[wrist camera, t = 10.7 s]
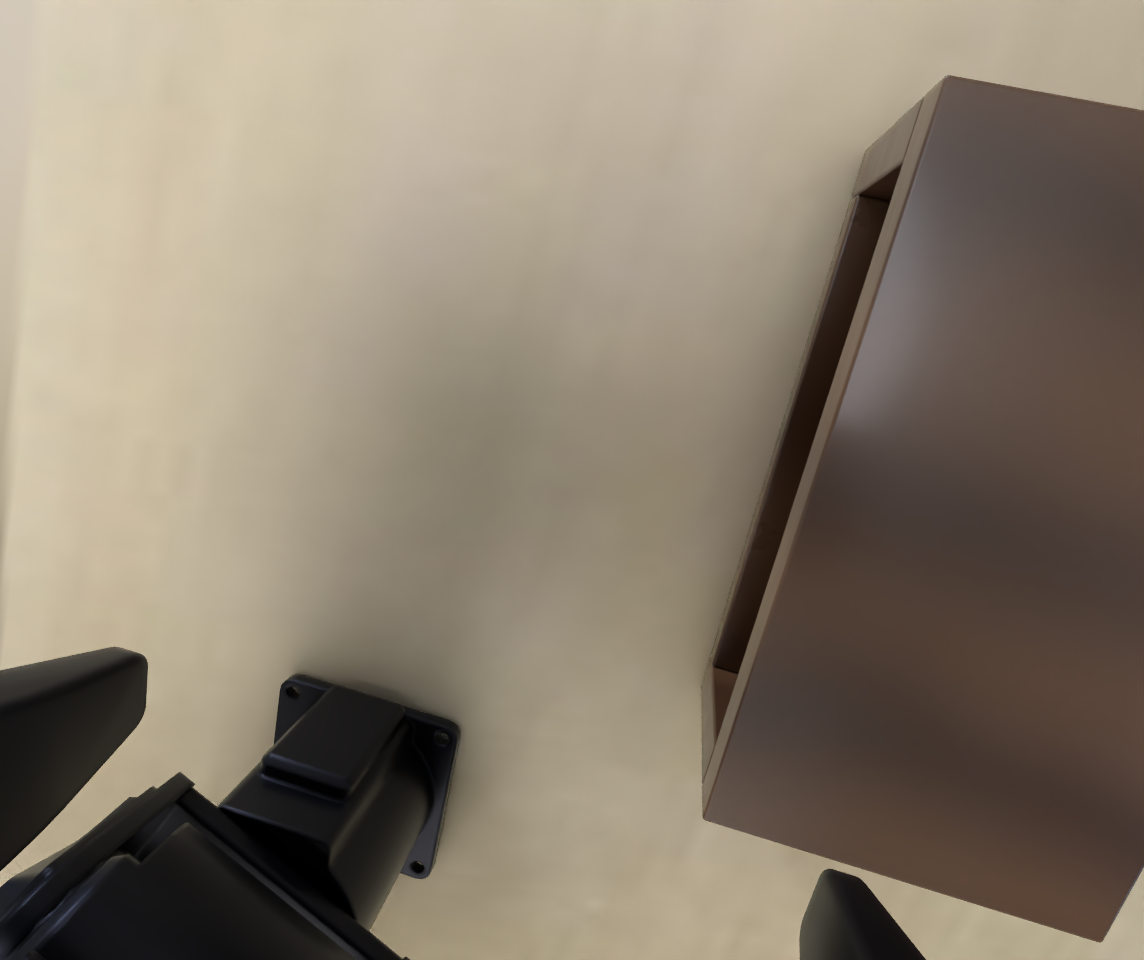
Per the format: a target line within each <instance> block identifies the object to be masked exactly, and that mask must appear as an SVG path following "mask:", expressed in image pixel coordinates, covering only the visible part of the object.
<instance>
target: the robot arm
mask: <svg viewBox="0 0 1144 960" xmlns="http://www.w3.org/2000/svg"><path fill="white" fill-rule="evenodd" d="M147 674H148V662H147V660H146V658H145V657H144V656H143V655H142V654H140V653H136V652H133V651H130V650H127V649H124V648H120V647H110V648H105V649H100V650H96V651H91V652H86V653H81V654H77V655H72V656H67V657H62V658H58V659H53V660H48V661H43V662H39V663H34V664H29V665H24V666H20V667H15V668H10V669H5V670H1V671H0V871H1V870H2V869H3V868H4V867H5V866H6V865H7V864H8V863H10V862H11V861H12V860H13V859H14V858H15V857H16V856H17V855H18V854H19V853H20V852H21V851H22V850H23V849H24V848H25V847H26V846H27V845H29V844H30V843H31V842H32V841H33V840H34V839H35V838H36V837H37V836H38V835H39V834H40V833H41V832H42V831H43V830H44V829H45V828H46V827H47V826H48V825H49V824H50V823H51V822H52V821H53V819H54V818H55V817H56V816H57V815H58V814H59V813H60V812H61V811H62V810H63V809H64V808H65V807H66V806H67V804H68V803H69V802H70V801H71V800H72V799H73V798H74V797H75V795H76V794H77V793H78V792H79V791H80V790H81V789H82V788H83V787H84V785H85V784H86V783H87V782H88V781H89V780H90V779H91V778H92V776H93V775H94V774H95V773H96V772H97V771H98V770H99V769H100V767H101V766H102V765H103V764H104V763H105V762H106V761H107V760H108V758H109V757H110V756H111V755H112V754H113V753H114V752H115V751H116V750H117V748H118V747H119V746H120V745H121V744H122V743H123V742H124V741H125V739H126V738H127V737H128V736H129V735H130V734H131V733H132V732H133V730H134V729H135V728H136V727H137V726H138V724H139V722H140V721H141V719H142V717H143V715H144V712H145V708H146V693H147ZM293 687H296V688H297V689H298V690H299V691H300V693H297V692H296V691H295V690H294V688H293ZM440 733H445V734H447V735H448V737H449V739H445V738H443V737H442V736H441V735H440ZM459 741H460V730H459V728H458V726H457V725H456V724H455V723H454V722H452V721H450V720H447V719H444V718H441V717H437V716H434V715H431V714H427V713H424V712H421V711H418V710H414V709H411V708H408V707H405V706H401V705H399V704H397V703H393V702H390V701H387V700H384V699H380V698H377V697H374V696H371V695H367V694H364V693H361V692H358V691H354V690H351V689H348V688H345V687H341V686H338V685H333V684H330V683H326V682H323V681H320V680H317V679H313V678H310V677H307V676H304V675H299V674H295V675H292V676H291V677H289V678H288V679H287V680H286V681H285V682H284V683H283V684H282V685H281V688H280V695H279V704H278V712H277V721H276V730H275V738H274V745H273V746H272V747H271V748H270V749H269V750H268V752H267V753H266V754H265V755H264V756H263V758H262V761H261V762H260V763H259V764H258V765H257V766H256V767H255V768H254V769H253V770H252V771H251V772H250V773H249V774H248V775H247V776H246V777H245V778H244V779H243V780H242V781H241V782H240V783H239V784H238V785H237V787H236V788H235V789H234V790H233V791H232V792H231V793H230V794H229V795H228V796H227V797H226V798H225V799H224V800H223V801H222V802H221V803H220V804H219V805H218V806H217V807H216V806H215V805H214V804H212V803H211V802H210V801H209V800H208V799H206V798H205V797H204V796H203V795H201V794H200V793H199V792H198V791H197V790H195V789H194V788H193V786H194V785H195V784H194V783H193V782H192V781H191V780H190V779H188V778H187V777H186V776H185V775H183V774H182V773H181V772H179V773H178V774H176V775H175V776H174V777H172V778H171V779H170V780H168V781H167V782H166V783H165V784H163V785H162V786H161V787H159V788H158V789H157V788H155V787H154V786H152V787H151V788H149V789H148V790H147V791H145V792H144V793H143V794H141V795H140V796H139V797H129V798H128V799H127V800H126V801H125V802H123V803H122V804H121V805H120V806H119V807H118V808H116V809H115V810H114V811H113V812H112V813H111V814H109V815H108V816H107V817H106V818H105V819H104V820H103V821H101V822H100V823H99V824H98V825H97V826H95V827H94V828H93V829H92V830H91V831H89V832H88V833H87V834H86V835H84V836H83V837H82V838H80V839H79V840H77V841H76V842H74V843H73V844H71V845H69V846H68V847H66V848H64V849H62V850H60V851H59V852H57V853H55V854H53V855H51V856H50V857H48V858H46V859H44V860H42V861H41V862H39V863H37V864H35V865H33V866H32V867H30V868H28V869H26V870H24V871H23V872H21V873H19V874H17V875H15V876H14V877H12V878H11V879H10V880H8V881H7V882H6V883H5V884H4V885H2V886H1V887H0V960H410V959H409V958H407V957H404V958H403V959H402V958H401V957H400V956H399V955H397V954H396V953H395V952H394V951H392V950H391V949H390V948H389V947H388V946H386V945H385V944H384V943H383V942H381V941H380V940H379V939H378V938H376V937H375V936H374V935H373V934H372V933H370V932H369V930H370V928H371V926H372V925H373V923H374V921H375V919H376V917H377V915H378V913H379V911H380V909H381V908H382V906H383V904H384V902H385V900H386V898H387V896H388V894H389V892H390V890H391V889H392V887H393V885H394V883H395V881H396V879H397V877H398V875H399V873H401V874H404V875H407V876H410V877H413V878H417V879H424V878H426V877H428V876H429V874H430V872H431V870H432V868H433V866H434V864H435V860H436V855H437V850H438V845H439V840H440V835H441V830H442V825H443V820H444V815H445V810H446V805H447V800H448V795H449V790H450V785H451V780H452V775H453V770H454V765H455V761H456V756H457V751H458V746H459ZM417 861H418V862H420V863H422V864H423V865H421V864H419V863H418V862H417ZM800 960H926V959H925V958H924V957H923V956H922V954H921V953H920V952H919V950H918V949H917V948H916V947H915V945H914V944H913V943H912V942H911V940H910V939H909V938H908V937H907V935H906V934H905V933H904V932H903V930H902V929H901V928H900V927H899V925H898V924H897V923H896V922H895V920H894V919H893V918H892V917H891V915H890V914H889V913H888V912H887V910H886V909H885V908H884V906H883V905H882V904H881V903H880V901H879V900H878V899H877V898H876V896H875V895H874V894H873V893H872V891H871V890H870V889H869V888H868V886H867V885H866V884H865V883H864V882H863V881H862V880H861V879H860V878H858V877H856V876H852V875H849V874H846V873H843V872H840V871H836V870H833V869H827V870H824V871H823V873H822V874H821V875H820V877H819V879H818V882H817V885H816V887H815V890H814V892H813V895H812V897H811V900H810V902H809V905H808V907H807V910H806V912H805V915H804V918H803V920H802V924H801V930H800Z"/></svg>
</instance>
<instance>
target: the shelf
mask: <svg viewBox="0 0 1144 960" xmlns="http://www.w3.org/2000/svg"><path fill="white" fill-rule="evenodd" d="M852 197H853V199H852V200H851V201H850V203H849V207H848V210H847V213H846V217H845V220H844V223H843V226H842V230H841V233H840V236H839V239H838V243H837V246H836V249H835V252H834V256H833V259H832V262H831V265H830V269H829V272H828V275H827V278H826V282H825V285H824V288H823V291H822V295H821V298H820V301H819V304H818V308H817V311H816V314H815V318H814V321H813V324H812V327H811V331H810V334H809V337H808V340H807V344H806V347H805V350H804V353H803V357H802V360H801V363H800V366H799V370H798V373H797V376H796V379H795V383H794V386H793V389H792V392H791V396H790V399H789V402H788V406H787V409H786V412H785V415H784V419H783V422H782V425H781V428H780V432H779V435H778V438H777V441H776V445H775V448H774V451H773V454H772V458H771V461H770V464H769V467H768V471H767V474H766V477H765V480H764V484H763V487H762V490H761V493H760V497H759V500H758V503H757V507H756V510H755V513H754V516H753V520H752V523H751V526H750V529H749V533H748V536H747V539H746V542H745V546H744V549H743V552H742V555H741V559H740V562H739V565H738V568H737V572H736V575H735V578H734V581H733V585H732V588H731V591H730V594H729V598H728V601H727V604H726V608H725V611H724V614H723V617H722V621H721V624H720V627H719V630H718V634H717V637H716V640H715V643H714V647H713V650H712V653H711V654H712V656H711V657H710V660H709V663H708V666H707V669H706V673H705V676H704V679H703V682H702V686H701V709H702V784H703V786H702V813H703V819H704V820H706V821H709V822H713V823H716V824H719V825H722V826H725V827H729V828H732V829H735V830H738V831H742V832H745V833H748V834H751V835H754V836H758V837H761V838H764V839H767V840H771V841H774V842H777V843H780V844H783V845H787V846H790V847H793V848H796V849H800V850H803V851H806V852H809V853H812V854H816V855H819V856H822V857H825V858H829V859H832V860H835V861H838V862H841V863H845V864H848V865H851V866H854V867H858V868H861V869H864V870H867V871H871V872H874V873H877V874H880V875H883V876H887V877H890V878H893V879H896V880H900V881H903V882H906V883H909V884H912V885H916V886H919V887H922V888H925V889H929V890H932V891H935V892H938V893H941V894H945V895H948V896H951V897H954V898H958V899H961V900H964V901H967V902H970V903H974V904H977V905H980V906H983V907H987V908H990V909H993V910H996V911H999V912H1003V913H1006V914H1009V915H1012V916H1016V917H1019V918H1022V919H1025V920H1029V921H1032V922H1035V923H1038V924H1041V925H1045V926H1048V927H1051V928H1054V929H1058V930H1061V931H1064V932H1067V933H1070V934H1074V935H1077V936H1080V937H1083V938H1087V939H1090V940H1093V941H1096V942H1102V941H1103V940H1104V938H1105V936H1106V934H1107V933H1108V931H1109V929H1110V927H1111V925H1112V924H1113V922H1114V920H1115V918H1116V916H1117V915H1118V913H1119V911H1120V909H1121V907H1122V905H1123V904H1124V902H1125V900H1126V898H1127V896H1128V895H1129V893H1130V891H1131V889H1132V887H1133V886H1134V884H1135V882H1136V880H1137V878H1138V877H1139V875H1140V873H1141V871H1142V869H1143V868H1144V110H1138V109H1132V108H1127V107H1121V106H1116V105H1110V104H1105V103H1099V102H1094V101H1088V100H1083V99H1077V98H1072V97H1066V96H1061V95H1055V94H1050V93H1044V92H1039V91H1033V90H1028V89H1022V88H1017V87H1011V86H1006V85H1000V84H995V83H989V82H984V81H978V80H973V79H967V78H962V77H956V76H951V75H948V76H945V77H944V78H943V79H942V80H941V81H940V82H939V83H938V84H937V85H935V86H934V87H933V88H932V89H931V90H930V91H929V92H928V93H927V94H926V95H925V96H924V97H923V98H922V99H921V100H920V101H918V102H917V103H916V104H915V105H914V106H913V107H912V108H911V109H910V110H909V111H908V112H907V113H906V114H905V115H903V116H902V117H901V118H900V119H899V120H898V121H897V122H896V123H895V124H894V125H893V126H892V127H891V128H890V129H888V130H887V131H886V132H885V133H884V134H883V135H882V136H881V137H880V138H879V139H878V140H877V141H876V142H875V143H873V144H872V145H871V146H870V147H869V148H868V149H867V150H866V151H865V154H864V158H863V161H862V164H861V167H860V171H859V174H858V177H857V180H856V184H855V187H854V190H853V194H852Z"/></svg>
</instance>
